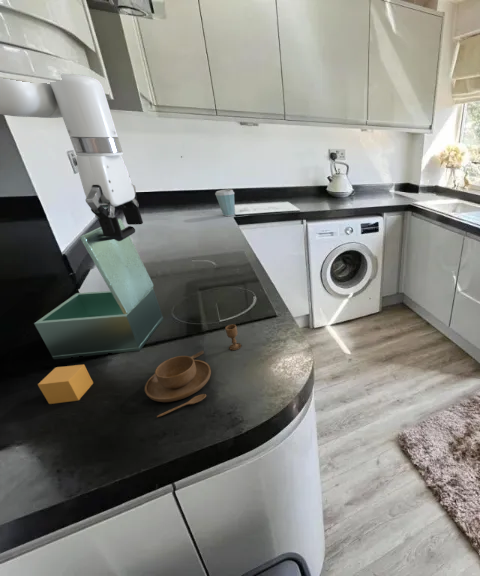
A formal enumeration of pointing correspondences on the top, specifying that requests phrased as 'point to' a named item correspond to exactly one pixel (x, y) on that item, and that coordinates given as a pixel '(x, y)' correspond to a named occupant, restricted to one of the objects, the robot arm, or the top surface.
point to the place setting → (183, 377)
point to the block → (66, 384)
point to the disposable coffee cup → (226, 201)
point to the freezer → (98, 325)
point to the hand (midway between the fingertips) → (125, 229)
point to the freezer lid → (119, 265)
